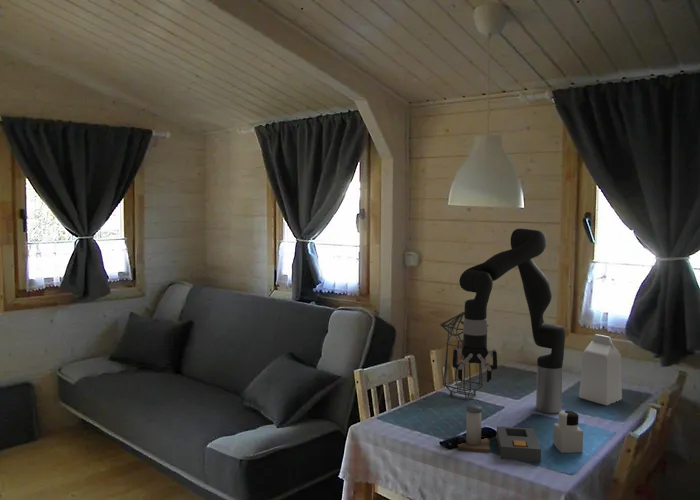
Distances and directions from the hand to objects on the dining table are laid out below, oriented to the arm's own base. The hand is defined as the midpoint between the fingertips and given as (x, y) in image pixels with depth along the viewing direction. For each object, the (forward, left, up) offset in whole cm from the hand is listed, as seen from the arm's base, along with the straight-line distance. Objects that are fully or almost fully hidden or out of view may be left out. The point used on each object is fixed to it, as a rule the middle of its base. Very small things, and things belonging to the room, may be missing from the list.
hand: (474, 380), depth 194 cm
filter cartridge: (0, 0, -21) cm, 21 cm away
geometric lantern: (-51, -2, -22) cm, 55 cm away
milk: (-56, +53, -22) cm, 80 cm away
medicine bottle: (-2, +30, -22) cm, 37 cm away
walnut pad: (0, 0, -22) cm, 22 cm away
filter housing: (+1, +14, -22) cm, 26 cm away
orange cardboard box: (+7, +14, -21) cm, 26 cm away
